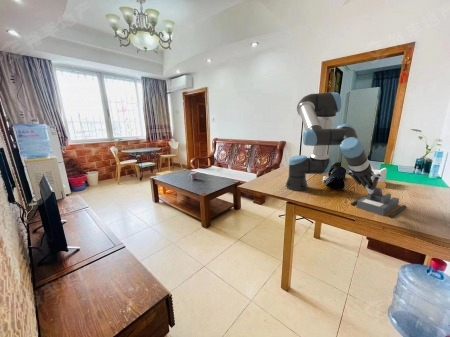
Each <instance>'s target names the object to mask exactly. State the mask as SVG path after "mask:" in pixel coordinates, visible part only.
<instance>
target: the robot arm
mask: <svg viewBox="0 0 450 337" xmlns="http://www.w3.org/2000/svg"><path fill="white" fill-rule="evenodd" d="M341 109H342V98H341V95H340V93H339V92H336V91H335V92H333V91H332V92H331V91H329V92H321V93H320V92H318V93H311V94H307V95H305V96H303V97H302V98H301V99H300V100H299V101H298V104H297V106H296V112H297V115H299V116H300V118H301V121H302V124H303V127H304V131H303V133H302V144H303V145H304V146H307V147H308V146H310V147H313V149H312V153H311V154H310V155H309V157H307V155H305V154H304V155H303V154H301V155H295V156H294V155H293V156H291V157H289V161H288V178H287V180H286V183H285V187H287V188H286V189H288V188H289V189H288V190H290V189H292V190H291V191H296V190H298V192H301V191H306V190H308V186H309V184H308V182H307V179H306V177H307V176H306V175H326V174H328V173H330V170H331V168H332V159H331V158H330V156H329V154H328V148H329V146H339V150H340V152H341V154H342V155H343V157H344V159H345V161H346V164H347V165H348V167H349V171H348V172H347V175H349V176H350V177H351V178H352V179H353V180H354V181H355V182H356V183H357V184H358V185H359V186H361V185H362V186H363V188H364V189H365V190H366V192H367V194H368V193H369V194H372V192H373V190H374V188H375V187H376V186H377V184H378V180H379V178H380V176H381V175H380V174H377V175H376V174H374V172H373V171H372V170H371V163H370V161H369V159H368V156H367V154H366V151H365V148H364V145H363V142H362V141H361V140H360V138H359V137H358V135H357V132H356V129H355V128H354V126H353V125H351V124H350V123H342V124H339V125H337V127H336V128H332V126H333V125H332V124H333V119H334V118H335V117H336V116H337V113H339V112H340V111H341ZM372 176H373V179H374V180H373V181H372V179H371V177H372Z"/></svg>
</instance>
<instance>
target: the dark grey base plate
mask: <svg viewBox="0 0 450 337" xmlns="http://www.w3.org/2000/svg"><path fill="white" fill-rule="evenodd" d="M367 195H368V194H366V195H364V196H362V197H358V199H355V200H354V201H352V202H350V206H353V205H355V204H357V201H358V200H360V199H362V198H364V197H366V196H367ZM406 208H407V205H405V204H403V205H402V206H400V207H399V208H397V209H396V210H395V211H393V212H392V213H391V214H390V215H389V217H390V218H392V219H393V218H395V216H397V215H398V214H399V213H400V212H402V211H404V209H406Z"/></svg>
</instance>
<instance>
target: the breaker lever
mask: <svg viewBox="0 0 450 337" xmlns="http://www.w3.org/2000/svg"><path fill="white" fill-rule="evenodd" d="M372 181H373V180H372ZM386 184H387V183H386V182H379V181H378V184H377V186H376V187H375V188H374V197H375V198H379V199H381V197H382V196H384V195H385V194H383V190H385V188H386V186H387V185H386Z"/></svg>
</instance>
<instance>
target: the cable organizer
mask: <svg viewBox="0 0 450 337" xmlns="http://www.w3.org/2000/svg"><path fill="white" fill-rule="evenodd" d="M370 166H371V165H370ZM371 170H372V171H373V172H374V174H376V175H377V174H380V175H381V176H380V178H379V180H378V181H379V182H384V183H386V179H387V177H386V176H387V171H388V169H387V168H386V167H384V168H381V169H374V166H371ZM371 179H372V180H374V179H373V176H372V177H371Z"/></svg>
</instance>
